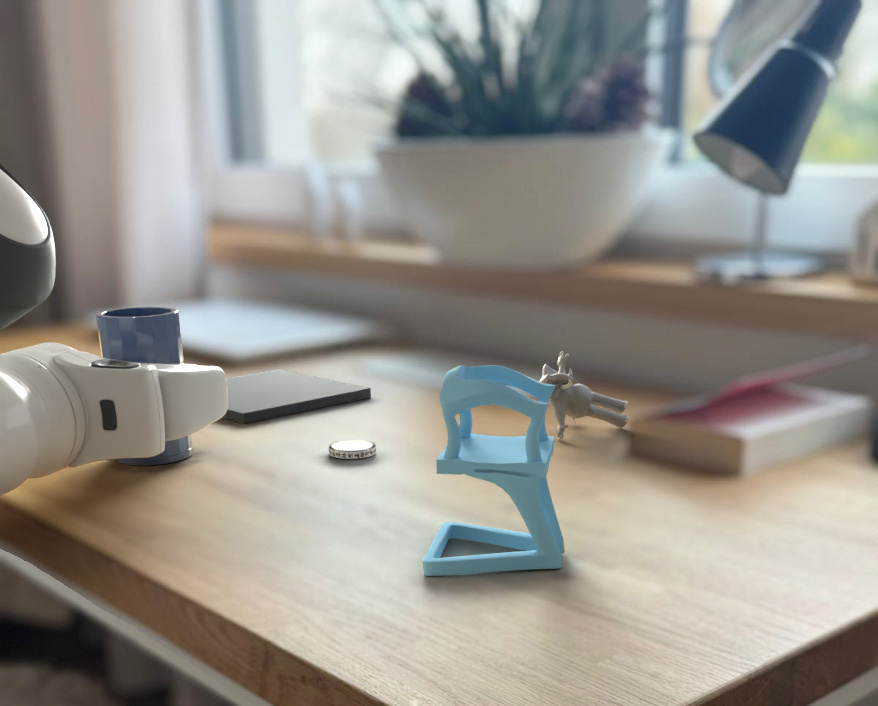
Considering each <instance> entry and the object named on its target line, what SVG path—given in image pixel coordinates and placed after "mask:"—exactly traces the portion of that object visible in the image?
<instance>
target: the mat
mask: <svg viewBox="0 0 878 706" xmlns="http://www.w3.org/2000/svg"><path fill="white" fill-rule="evenodd" d="M226 381H227V390H228V409H227V412H226V414H225V415H224V416H223V417H222V419H226V420H230V421H234V422H236V423H241V424H250V423H253V422H255V423H256V422H259V421H263V420H268V419H273V418H278V417H283V416H289V415H293V414H297V413H303V412H307V411H312V410H316V409H321V408H326V407H331V406H336V405H341V404H346V403H351V402H355V401H360V400H364V399H370V398H371V397H372V389H371V387H367V386H363V385H357V384H353V383H348V382H343V381H339V380H334V379H329V378H324V377H319V376H315V375H310V374H306V373H301V372H295V371H291V370H286V369H282V368H274V369H270V370H264V371H258V372H253V373H247V374H241V375H235V376H229V377H226Z"/></svg>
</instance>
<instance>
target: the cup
mask: <svg viewBox="0 0 878 706" xmlns="http://www.w3.org/2000/svg"><path fill="white" fill-rule="evenodd" d="M95 319H96V326H97V335H98V340H99V348H100V357H103V358H107V359H114V360H120V361H128V362H137V363H156V364H176V365H179V364H185V362H184V361H185V360H184V354H183V352H184V351H183V342H182V334H181V333H182V331H181V323H180V314H179V310H178V309H177V308H174V307H167V306H135V307H133V306H132V307H120V308H111V309H107V310H102V311H99V312H97V313H96V314H95ZM192 454H193V440H192V434H190V435H188V436H185V437H182V438H179V439H175V440H171V441H165V450H164V451H163V452H162V453H160V454H158V455H156V456H153V457H147V458H137V459H119V460H116V461H117V462H118V463H120V464H123V465H129V466H144V467H145V466H160V465H165V464H166V465H167V464H171V463H177V462H180V461H183V460H186V459H188V458H189V457H191V456H192Z"/></svg>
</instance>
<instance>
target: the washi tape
mask: <svg viewBox="0 0 878 706" xmlns="http://www.w3.org/2000/svg"><path fill="white" fill-rule="evenodd" d="M375 454H377V444H376V443H374V442H372V441H368V440H364V439H363V440H362V439H347V440H341V441H335V442H332V443H330V444H329V445H328V455H329V456H331V457H333V458H337V459H343V460H345V459H346V460H347V459H348V460H354V459H355V460H356V459H364V458H369V457H372V456H374V455H375Z"/></svg>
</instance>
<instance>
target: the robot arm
mask: <svg viewBox="0 0 878 706" xmlns="http://www.w3.org/2000/svg"><path fill="white" fill-rule="evenodd" d="M56 260H57V259H56V246H55V239H54V234H53V230H52V226H51V224H50V220H49V218H48V216H47V214H46V213H45V211H44V209H43V207H42V206H41V205H40V204H39V202H38V201H37V199H36V198H35V197H34V196H33V194H32V193H30V191H29V190H28V189H27V188H26V187H25V186H24V185H23V184H22V183H21V182H20V181H19V180H18V179H17V178H16V177H15V176H14V175H13V174H12V173H11V172H10V171H8V169H7V168H6V167H5V166H3V165H2V164H1V163H0V330H3V329H6V328H7V327H9V326H10V325H11V324H13V323H15V322H16V321H17V320H19V319H20V318H22V317H23V316H25V315H26V314H27V313H29V312H31V311H32V310H33V309H35V308H36V307H38V306H39V305H41V304H42V303H43V302H44V301H46V300H47V299H48V297H49V296H50V295H51V293H52V291H53V289H54V285H55V281H56V267H57V266H56V265H57V261H56ZM226 378H227V377H226V374H225V371H224V370H223V369H222V368H221V367H220V366H216V365H198V364H196V363H184V364H179V365H176V364H156V363H137V362H128V361H120V360H114V359H107V358H103V357H101V355H100V356H99V355H96V354H94V353H91V352H86V351H82V350H77V349H76V348H73V347H71V346H69V345H67V344H64V343H59V342H55V341H54V342H50V341H47V342H41V343H37V344H33V345H29V346H25V347H21V348H18V349H13V350H10V351H5V352H2V353H0V496H3V495H5V494H7V493H10V492H12V491H14V490H16V489H17V488H19V487H20V486H22V485H23V484H24V483H25V482H26V481H27V480H28V479H29V480H30V479H38V478H43V477H46V476H50V475H52V474H54V473H57V472H59V471H61V470H63V469H65V468H68V467H69V468H71V469H74V468H77V467H80V466H81V467H82V466H84V465H88V464H92V463H96V462H102V461H117V460H119V459H137V458H147V457H153V456H156V455H158V454H160V453H162V452H163V451H164V450H165V441H171V440H175V439H179V438H182V437H185V436H188V435H190V434H191V435H192V434H195V433H196V432H199V431H200V430H203V429H204V428H206V427H209V426H210V425H212V424H214V423H215V422H217V421H219V420H221V418H222V417H223V416H224V415H225V414H226V412H227V409H228V390H227V381H226ZM222 419H223V418H222Z"/></svg>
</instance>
